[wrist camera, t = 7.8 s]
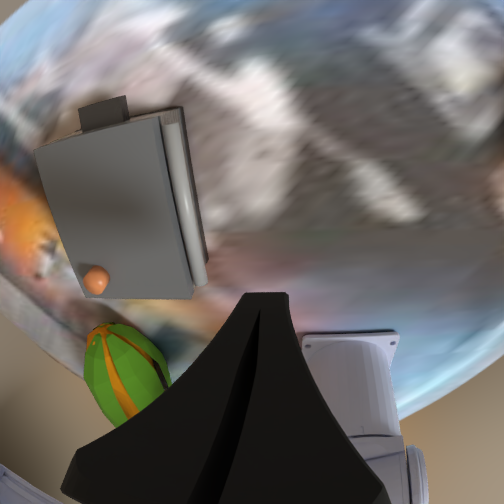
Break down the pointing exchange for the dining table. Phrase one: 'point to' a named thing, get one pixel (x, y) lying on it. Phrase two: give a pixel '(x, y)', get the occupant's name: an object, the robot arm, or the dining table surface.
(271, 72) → the dining table surface
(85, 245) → the lid
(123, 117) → the cooker
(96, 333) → the corn
